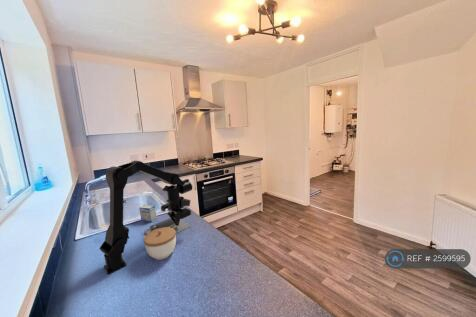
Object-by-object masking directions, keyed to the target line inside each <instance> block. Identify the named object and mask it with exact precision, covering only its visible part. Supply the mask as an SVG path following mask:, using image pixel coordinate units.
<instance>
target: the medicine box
mask: <svg viewBox="0 0 476 317" xmlns="http://www.w3.org/2000/svg"><path fill="white" fill-rule="evenodd" d="M138 209H139V215H140V221H141V222H145V221H146V222H148V223H153V222H154V221H156V220H157V211H156V205H151V204H148V205H147V204H144V205H141V206H140V207H139V208H138Z"/></svg>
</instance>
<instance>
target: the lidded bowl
mask: <svg viewBox="0 0 476 317" xmlns="http://www.w3.org/2000/svg"><path fill="white" fill-rule="evenodd" d="M143 242H144V247H145V249H146V253H147V254H148V255H149V256H150V257H151V258H153V259H155V260H157V261H160V260H164V259H167V258H168V257H170V256H171V255H172V253H173V252H174V250H175V247H176V244H177V233H176V231H175V229H173V228H170V227H163V228H158V229H155V230H153V231H151V232H149V233H148V234H147V235H146V234H145V236H144V238H143Z"/></svg>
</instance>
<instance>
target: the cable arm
mask: <svg viewBox="0 0 476 317" xmlns="http://www.w3.org/2000/svg"><path fill="white" fill-rule="evenodd" d="M173 224H175V223H174V222H173V220H172V219H171V218H170V217H169V218H168V219H164V220H163V221H159V222H157V223H156V224H151V225H150V226H149V228H150V231H153V230H155V229H158V228H163V227H169V226H171V225H173Z"/></svg>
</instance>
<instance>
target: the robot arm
mask: <svg viewBox="0 0 476 317" xmlns="http://www.w3.org/2000/svg"><path fill="white" fill-rule="evenodd" d="M138 172H141V173H143V174H146V175H149V176H151V177H155V178H157V179H159V181H161V182H162V183H165V184H166V185H165V186H164V187H163V188H162V192H163V191H164V192H166V194H167V195H166V196H167V199H166V203H165V204H162V205H161V206H160V211H161V212H166V210H167V212H168V213H167V215H168V217H169V218H171V219H172V220H173V222H174V223H175V225H176V226H178V225H179V222H180V219H181V220H183V219H184V218H187V217H189V216H191V215H192V210H190V209H189V208H186V207H190V205H191V199H187V198H185V197H184V196H180V195H183V194H186V193H188V192H192V190H193V184H192V183H191V181H190V179H188V178H185V179H184V180H183V179H182V178H180V175H179V174H178V173H175V172H170V171H169V172H168V171H164V170H162V169H159V168H157V167H154V166H152V165H149V164H147V163H144V162H143V161H141V160H133V161H130V162H127V163H125V164H121V165H118V166H110V167H109V168H108V169H106V171H105V178H106V183H107V186H108V188H109V224H108V225H109V226H108V228H107V229H106V232H105V238H104V241H103V243H102V244H101V245H100V247H99V251H101V253H103V258H104V262H105V264H104V266H103V268H104V269H105V272H106V274H107V275H111V274H112V273H114V272H116V271H118V270H120V269H122V268H124V267H126V266H127V262H126V261H125V260H124V258H123V254H124V253H125V246H126V245H127V243H128V239H130V237H129V232H130V228H129V227H127V226H125V225H124V191H125V190H124V189H125V188H126V185H127V183H128V179H129V177H132V176H133V175H135V174H136V173H138Z"/></svg>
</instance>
